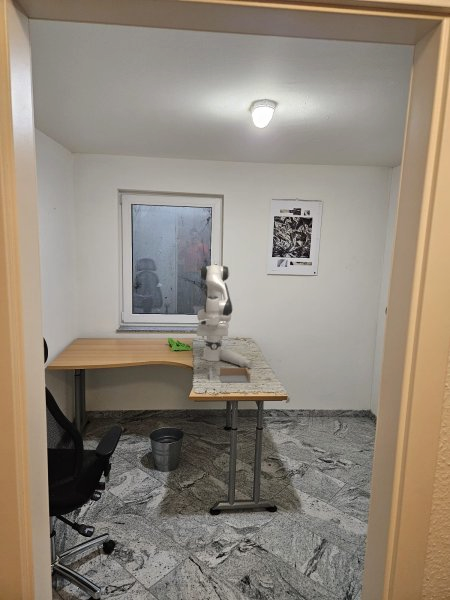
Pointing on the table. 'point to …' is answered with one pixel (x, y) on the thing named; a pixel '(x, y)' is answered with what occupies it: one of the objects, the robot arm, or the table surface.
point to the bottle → (235, 358)
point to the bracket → (211, 376)
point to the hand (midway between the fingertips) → (212, 342)
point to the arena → (234, 375)
